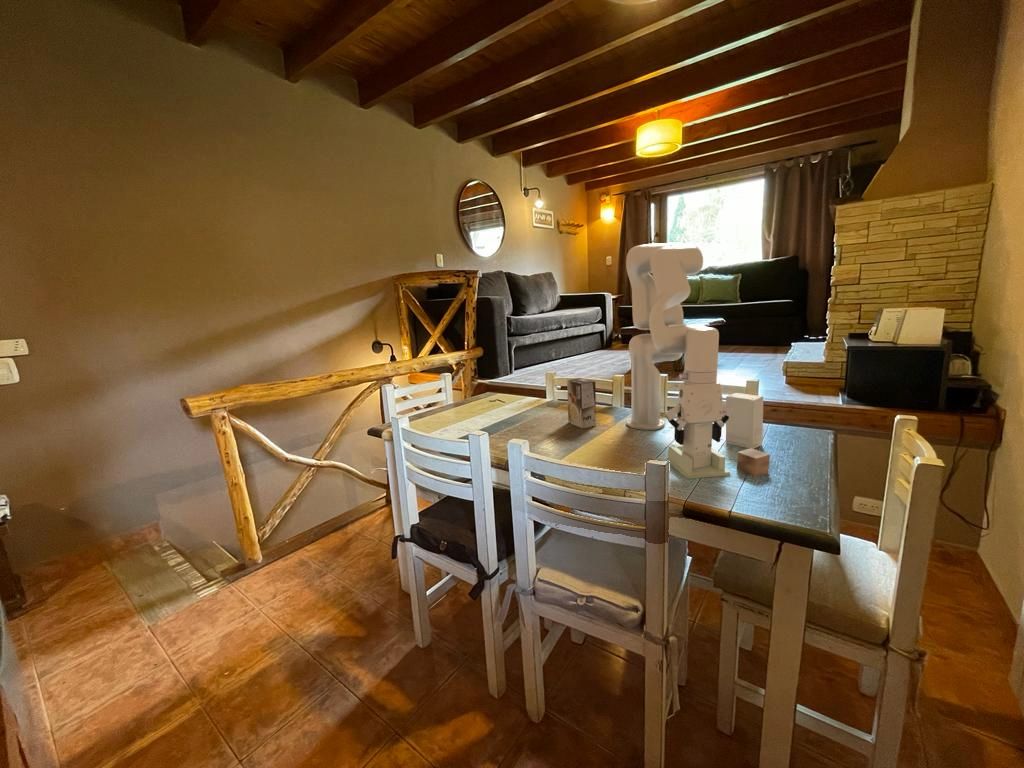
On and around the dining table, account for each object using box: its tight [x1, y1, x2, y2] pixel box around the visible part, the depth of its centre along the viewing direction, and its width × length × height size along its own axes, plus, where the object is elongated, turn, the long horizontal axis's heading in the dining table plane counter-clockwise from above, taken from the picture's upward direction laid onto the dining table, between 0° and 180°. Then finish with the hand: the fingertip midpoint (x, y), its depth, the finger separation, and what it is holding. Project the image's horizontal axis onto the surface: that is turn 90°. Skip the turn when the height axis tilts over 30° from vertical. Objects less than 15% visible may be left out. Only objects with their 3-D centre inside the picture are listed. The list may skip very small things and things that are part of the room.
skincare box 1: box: [682, 422, 714, 469], centre depth 109 cm, size 6×4×12 cm
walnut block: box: [736, 448, 771, 478], centre depth 106 cm, size 5×5×5 cm
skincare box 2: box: [725, 392, 764, 449], centre depth 123 cm, size 8×6×15 cm
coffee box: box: [566, 377, 597, 430], centre depth 149 cm, size 9×6×16 cm
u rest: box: [665, 444, 731, 479], centre depth 110 cm, size 12×11×4 cm
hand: (697, 441), depth 109 cm, fingers open, 9 cm apart
